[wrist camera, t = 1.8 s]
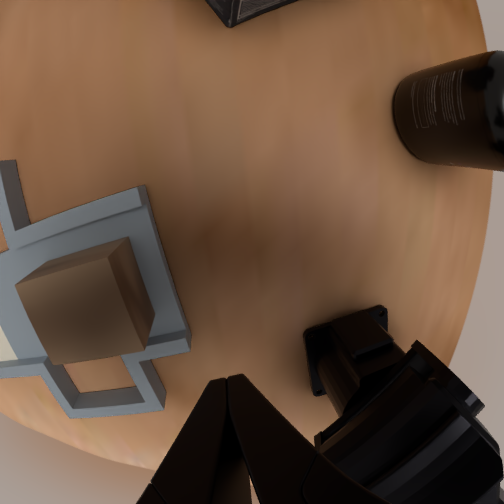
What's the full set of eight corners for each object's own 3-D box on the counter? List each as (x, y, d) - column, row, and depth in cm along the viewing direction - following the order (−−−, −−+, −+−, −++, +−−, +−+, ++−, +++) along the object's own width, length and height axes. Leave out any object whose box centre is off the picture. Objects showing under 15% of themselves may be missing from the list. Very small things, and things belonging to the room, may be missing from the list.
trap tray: (128, 111, 15) (118, 105, 13) (210, 383, 21) (211, 401, 19) (-69, 213, 14) (-83, 218, 12) (16, 404, 20) (8, 417, 18)
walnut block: (155, 314, 18) (144, 350, 14) (75, 331, 17) (53, 365, 14) (128, 236, 16) (107, 257, 13) (46, 261, 16) (14, 285, 12)
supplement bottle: (434, 183, 19) (574, 216, 8) (373, 117, 17) (529, 96, 6) (468, 120, 18) (592, 123, 7) (416, 55, 16) (545, 16, 5)
